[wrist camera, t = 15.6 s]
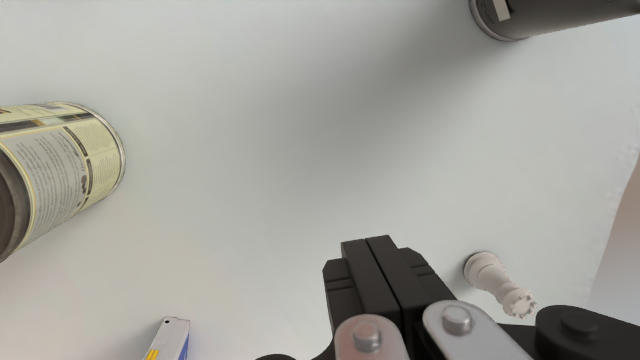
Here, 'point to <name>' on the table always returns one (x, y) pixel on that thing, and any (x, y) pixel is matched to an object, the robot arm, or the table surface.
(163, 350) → the walkman
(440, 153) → the table surface
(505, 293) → the rook chess piece
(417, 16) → the table surface
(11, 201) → the coffee can
